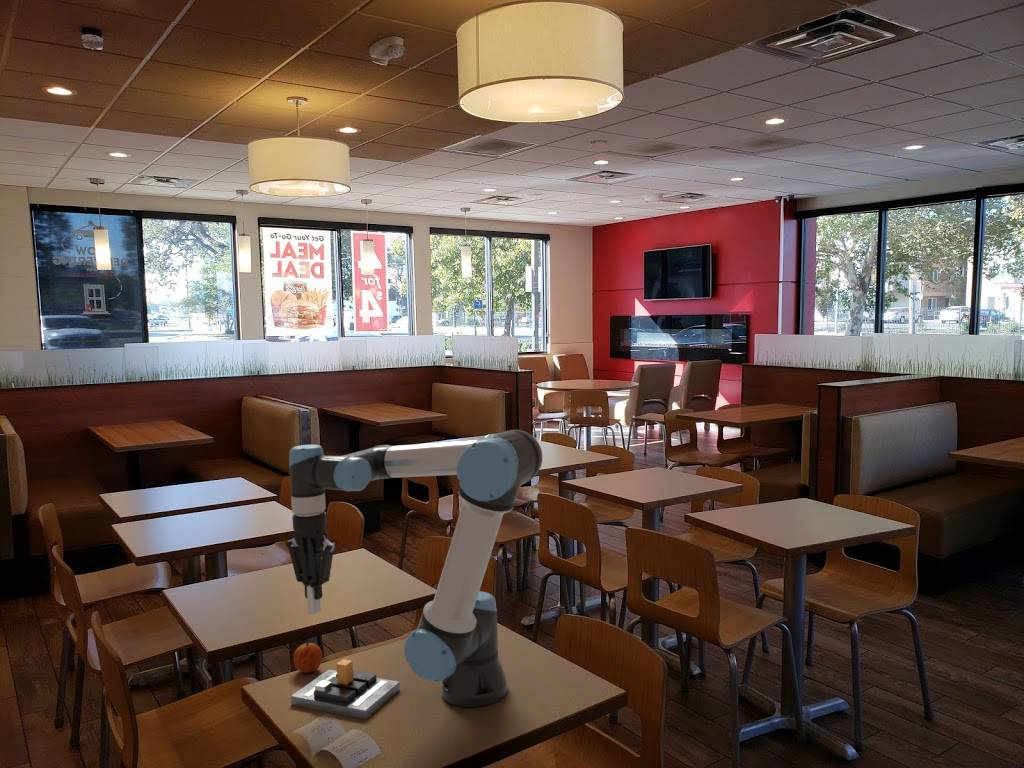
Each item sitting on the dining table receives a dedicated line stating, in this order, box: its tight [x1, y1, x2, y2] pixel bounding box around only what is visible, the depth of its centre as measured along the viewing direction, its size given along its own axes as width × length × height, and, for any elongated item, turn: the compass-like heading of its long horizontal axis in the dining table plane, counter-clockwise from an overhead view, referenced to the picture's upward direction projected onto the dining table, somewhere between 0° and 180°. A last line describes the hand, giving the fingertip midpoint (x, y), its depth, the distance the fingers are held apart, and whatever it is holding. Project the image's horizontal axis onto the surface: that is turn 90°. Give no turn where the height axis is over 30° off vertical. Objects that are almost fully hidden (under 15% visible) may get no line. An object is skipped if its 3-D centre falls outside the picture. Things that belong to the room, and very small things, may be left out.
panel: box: [290, 669, 401, 720], centre depth 173 cm, size 20×14×5 cm
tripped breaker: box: [336, 658, 354, 685], centre depth 173 cm, size 3×3×4 cm
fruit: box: [293, 640, 323, 674], centre depth 187 cm, size 7×7×8 cm
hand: (314, 611), depth 175 cm, fingers closed
